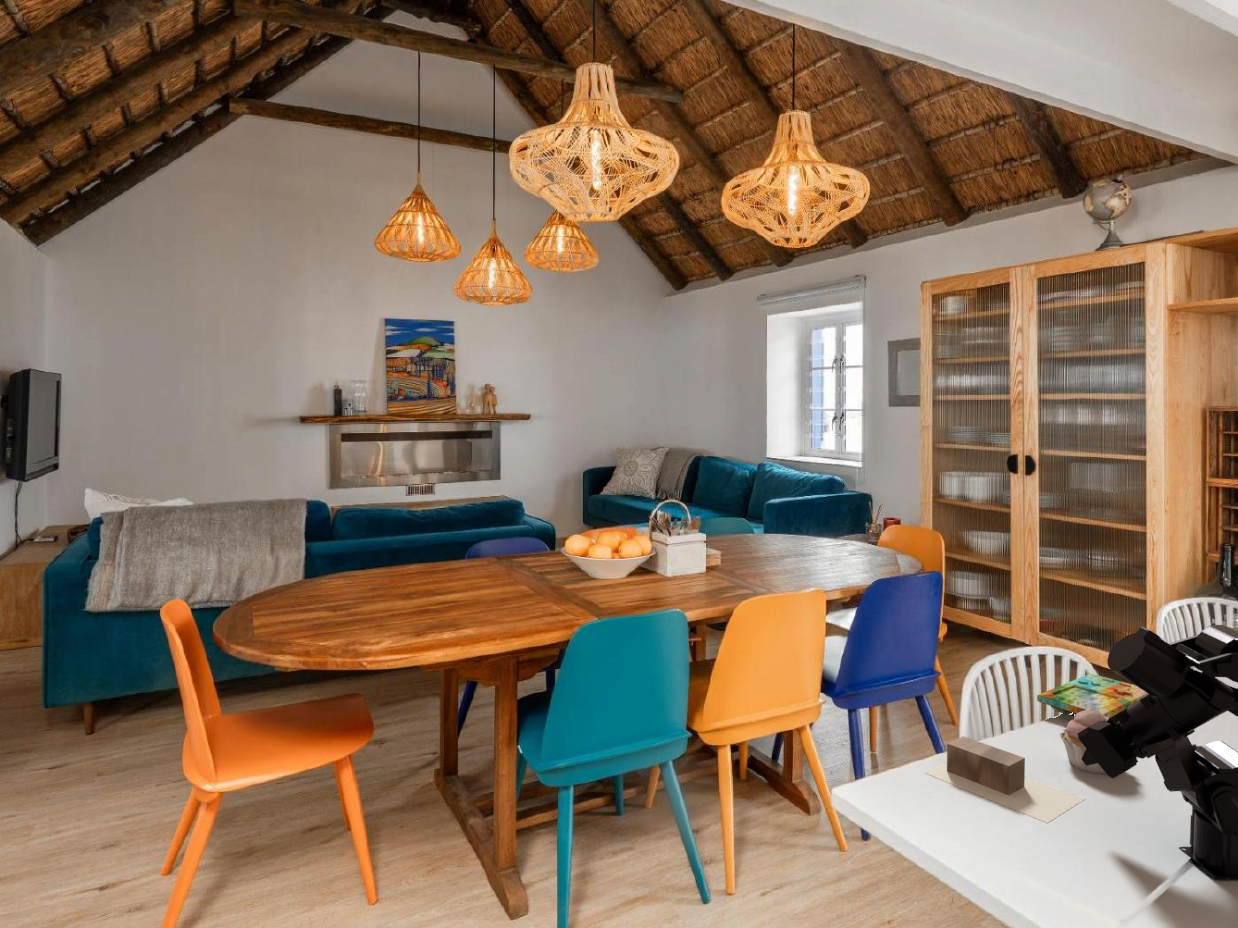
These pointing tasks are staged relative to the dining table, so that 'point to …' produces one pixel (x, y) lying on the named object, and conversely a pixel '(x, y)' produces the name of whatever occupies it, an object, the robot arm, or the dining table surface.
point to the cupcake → (1074, 744)
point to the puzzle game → (1092, 695)
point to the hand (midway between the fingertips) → (1084, 761)
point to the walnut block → (986, 765)
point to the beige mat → (1018, 795)
